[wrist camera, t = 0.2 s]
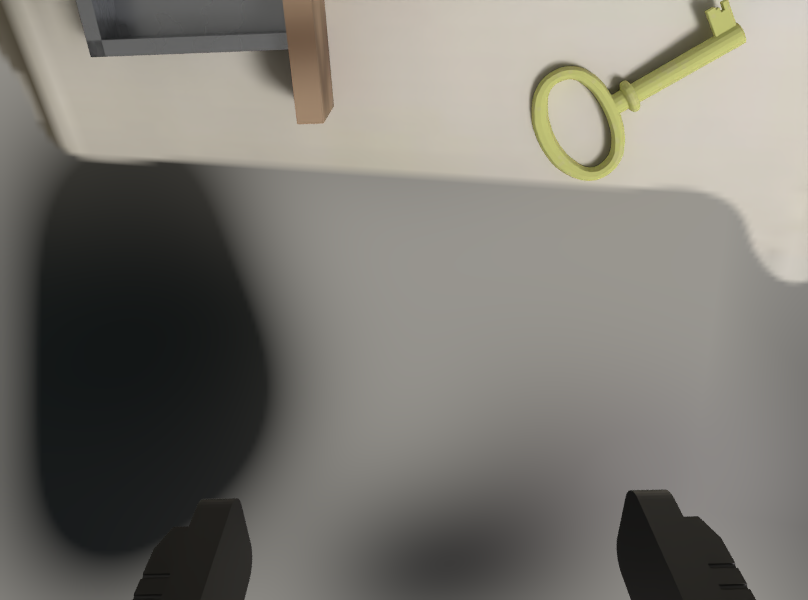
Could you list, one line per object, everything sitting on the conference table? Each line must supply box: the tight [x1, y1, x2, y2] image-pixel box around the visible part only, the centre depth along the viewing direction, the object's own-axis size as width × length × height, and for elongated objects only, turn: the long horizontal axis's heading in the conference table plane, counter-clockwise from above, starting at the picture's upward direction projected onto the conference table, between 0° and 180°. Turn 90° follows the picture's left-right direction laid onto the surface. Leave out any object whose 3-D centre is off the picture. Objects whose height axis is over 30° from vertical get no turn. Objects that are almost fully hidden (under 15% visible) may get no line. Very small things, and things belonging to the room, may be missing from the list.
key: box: [531, 0, 746, 181], centre depth 34 cm, size 7×12×2 cm, turn 141°
